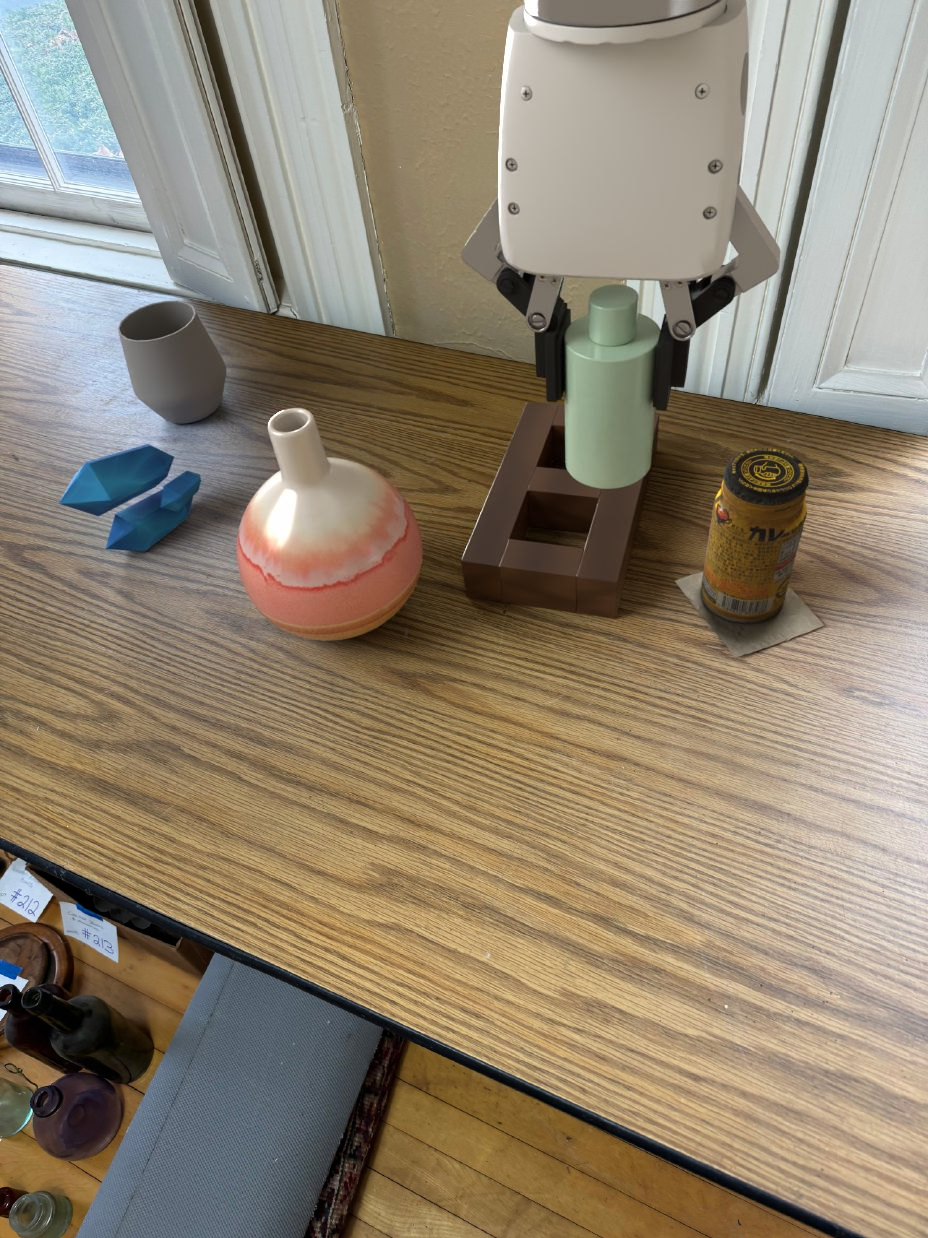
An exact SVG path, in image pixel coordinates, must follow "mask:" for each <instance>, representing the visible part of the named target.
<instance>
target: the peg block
mask: <svg viewBox="0 0 928 1238" xmlns="http://www.w3.org/2000/svg"><path fill="white" fill-rule="evenodd" d="M659 425H660V413H659V412H655V422H654V435H653V447H652V460H651V466H650V469H649V470H648V472H647V473H646V475H645V476H644V477H643V478H642V479H640V480H639V481H637V482H635V483H633V484H631V485H628V486H625V487H621V488H614V489H601V488H594V487H590V486H587V485H585V484H582V483H580V482H579V481H577V480H576V479H574V478H573V477H572V476H571V475H570V473H569V472H568V470H567V469H561V468H552V465H553V463H554V462H559V463H565V404H553V403H541V402H529V401H526V403H525V405H524V408H523V410H522V413H521V415H520V417H519V420H518V422H517V425H516V428H515V430H514V432H513V435H512V437H511V439H510V441H509V444H508V446H507V448H506V452H505V454H504V456H503V458H502V461H501V463H500V465H499V468H498V471H497V473H496V475H495V478H494V480H493V482H492V485H491V487H490V489H489V492H488V494H487V497H486V499H485V502H484V504H483V507H482V509H481V511H480V514H479V516H478V519H477V521H476V523H475V525H474V528H473V530H472V533H471V536H470V538H469V539H468V543H467V545H466V548H465V550H464V552H463V554H462V557H461V560H460V564H461V571H462V577H463V584H464V589H465V590H464V591H465V595H466V598H473V599H479V600H487V601H492V602H500V603H507V604H514V605H519V606H526V607H534V608H541V609H548V610H554V611H561V612H568V613H573V614H574V613H575V614H576V613H577V614H580V615H581V614H583V615H587V616H596V617H602V618H608V619H609V618H610V619H617V615H618V611H619V607H620V604H621V599H622V595H623V591H624V586H625V584H626V583H625V582H626V578H627V575H628V570H629V566H630V562H631V559H632V558H631V557H632V553H633V549H634V545H635V542H636V538H637V533H638V529H639V524H640V520H641V517H642V513H643V508H644V504H645V500H646V495H647V492H648V488H649V483H650V479H651V475H652V472H653V467H654V462H655V460H656V456H657V455H656V454H657V450H658V438H659ZM530 527H532V528H533V527H534V528H541V529H549V530H557V531H564V532H574V533H581V534H587V538H586V542H585V545H584V548H583V547H575V546H567V545H559V544H552V543H543V542H538V541H537V542H536V541H530V540H529V541H527V540H526V538H527V535H528V532H529V529H530Z"/></svg>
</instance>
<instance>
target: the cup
mask: <svg viewBox="0 0 928 1238" xmlns="http://www.w3.org/2000/svg"><path fill="white" fill-rule="evenodd" d="M117 331H118V336H119V339H120V345H121V348H122V351H123V355H124V359H125V363H126V367H127V371H128V375H129V379H130V383H131V386H132V391H133V393H134V395H135V396H136V398H137V399H138V400H140V402H142V403H143V404H144V405H145V406H146V407H147V408H149V409H150V410H152V411H153V412H155V414H157V415H158V416H159V417H161V418H162V419H163V420H165V421H166V422H170V423H174V424H190V423H194V422H198V421H201V420H203V419H205V418H207V417H209V416H210V415H212V414H213V413H214V412H216V410H217V409H218V408H219V407H220V405H221V403H222V400H223V395H224V390H225V386H226V385H225V384H226V378H227V367H226V364H225V360H224V358H223V356H222V354H221V352H220V351H219V348H218V347H217V345H216V343H215V342H214V340H213V338H212V336H211V335H210V332H209V331H208V329H207V328H206V325H205V324H204V322H203V320H202V319H201V317H200V315H199V314H198V312H197V310H196V308H195V306H193V305H192V304H190V303H189V302H187V301H181V300H163V301H156V302H153V303H150V304H147V305H143V306H141V307H139V308H137V309H135V310H133V311H131V312H130V313H128V314H126V316H125V317H124V318H122V320H120V323H119V325H118V326H117Z"/></svg>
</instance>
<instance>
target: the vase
mask: <svg viewBox="0 0 928 1238" xmlns="http://www.w3.org/2000/svg"><path fill="white" fill-rule="evenodd" d="M267 430H268V435H269V438H270V442H271V445H272V447H273V452H274V455H275V458H276V461H277V465H278V467H279V470H278V471H277V472H275V474H273V475H271V477H269V478H268V479H267V480H266V481H265V482H264V483H263V484H262V485H260V487H259V489H257V491H256V492H255V494H254V495H253V497H252V498H251V499H250V501H249V502H248V505H247V506H246V509H245V510H244V512H243V514H242V517H241V520H240V524H239V527H238V530H237V537H236V548H235V551H236V561H237V562H236V563H237V567H238V574H239V577H240V581H241V584H242V586H243V588H244V590H245V593H246V595H247V597H248V599H249V600H250V602H251V603H252V604H253V605H254V607H255V608H256V610H257V611H258V612H259V613H260V615H262V616H263V617H264V618H265V619H266V620H267V621H269V622H270V623H271V624H272V625H274V626H276V627H277V628H279V629H281V630H282V631H284V632H286V633H289V634H291V635H293V636H298V637H299V638H303V639H308V640H312V641H313V640H314V641H323V642H324V641H325V642H327V641H329V642H330V641H331V642H332V641H342V640H347V639H352V638H355V637H359V636H362V635H364V634H365V635H366V634H367V633H368V632H369V633H370V632H371V631H373V630H376V629H377V628H379V627H380V626H382V625H384V624H385V623H386V622H388V621H389V620H391V619H392V618H393V617H394V616H395V615H396V614H397V613H398V612H399V611H400V610H401V609H402V608H403V607H404V605H405V604H406V603H407V602H408V600H409V599H410V597H411V596H412V594H413V592H414V590H415V588H416V587H417V584H418V582H419V578H420V575H421V571H422V568H423V557H424V547H423V538H422V532H421V529H420V525H419V522H418V521H417V518H416V516H415V513H414V510H413V509H412V507H411V505H410V504H409V502H408V501H407V499H406V498H405V496H404V495H403V494H402V492H401V491H400V490H399V489H398V488H397V487H396V486H395V485H394V484H393V483H392V482H391V481H389V480H388V479H387V478H386V477H385V476H384V475H382V474H380V473H379V472H378V471H376V470H374V469H372V468H371V467H368V466H366V465H364V464H361V463H358V462H356V461H352V460H349V459H345V458H339V457H330V456H329V457H328V456H327V453H326V450H325V448H324V444H323V441H322V438H321V435H320V431H319V428H318V424H317V422H316V419H315V417H314V415H313V414H312V413H311V411H309V410H307V409H304V408H301V407H293V408H287V409H283V410H281V411H279V412H277V413H276V414H274V415H273V416H272V417H271V418H270V420H269V421H268V424H267Z"/></svg>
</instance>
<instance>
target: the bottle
mask: <svg viewBox="0 0 928 1238" xmlns="http://www.w3.org/2000/svg"><path fill="white" fill-rule="evenodd" d="M587 298H588V299H587V313H586V314H584V315H582V316H580V317H578V318H576V319H575V320H573V321H571V324H570V325H569V326H568V327H567V329H566V331H565V334H564V393H563V396H564V405H565V462H564V463H565V464H564V465H565V468H566V470H568V472H569V473H570V475H571V476H572V477H573V478H574V479H576V480H577V481H579V482H580V483H582V484H585V485H587V486H590V487H594V488H601V489H614V488H621V487H625V486H628V485H631V484H633V483H635V482H637V481H639V480H640V479H642V478H643V477H644V476H645V475H646V473H647V472H648V470H649V469H650V466H651V460H652V447H653V435H654V422H655V413H656V411H657V410H656V407H653V394H654V381H655V368H656V355H657V344H658V339H659V335H660V331H661V327H660V326H659V324H658V323H657V322H656V321H655V320H654V319H652V318H651V317H649V316H648V315H646V314H643V313H640V312H639V304H640V303H639V301H640V295H639V293H638V291H637V290H636V289H635V288H634V287H631V286H628V285H626V284H618V283H615V284H613V283H611V284H604V285H601V286H598V287H596V288H595V289H592V291H591V292H590V293H589V295H588V297H587Z"/></svg>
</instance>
